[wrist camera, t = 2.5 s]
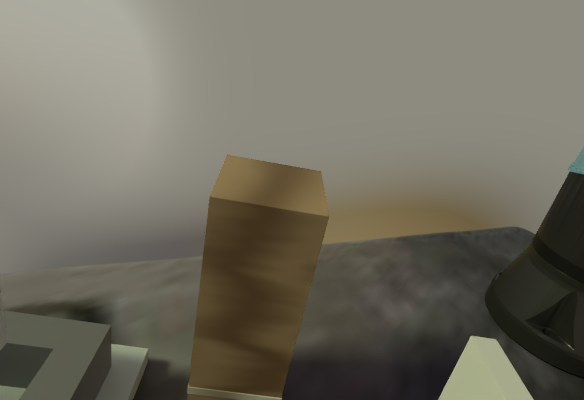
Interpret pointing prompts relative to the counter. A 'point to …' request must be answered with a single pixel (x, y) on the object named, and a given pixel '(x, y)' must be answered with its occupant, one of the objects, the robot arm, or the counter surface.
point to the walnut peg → (255, 278)
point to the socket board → (66, 361)
